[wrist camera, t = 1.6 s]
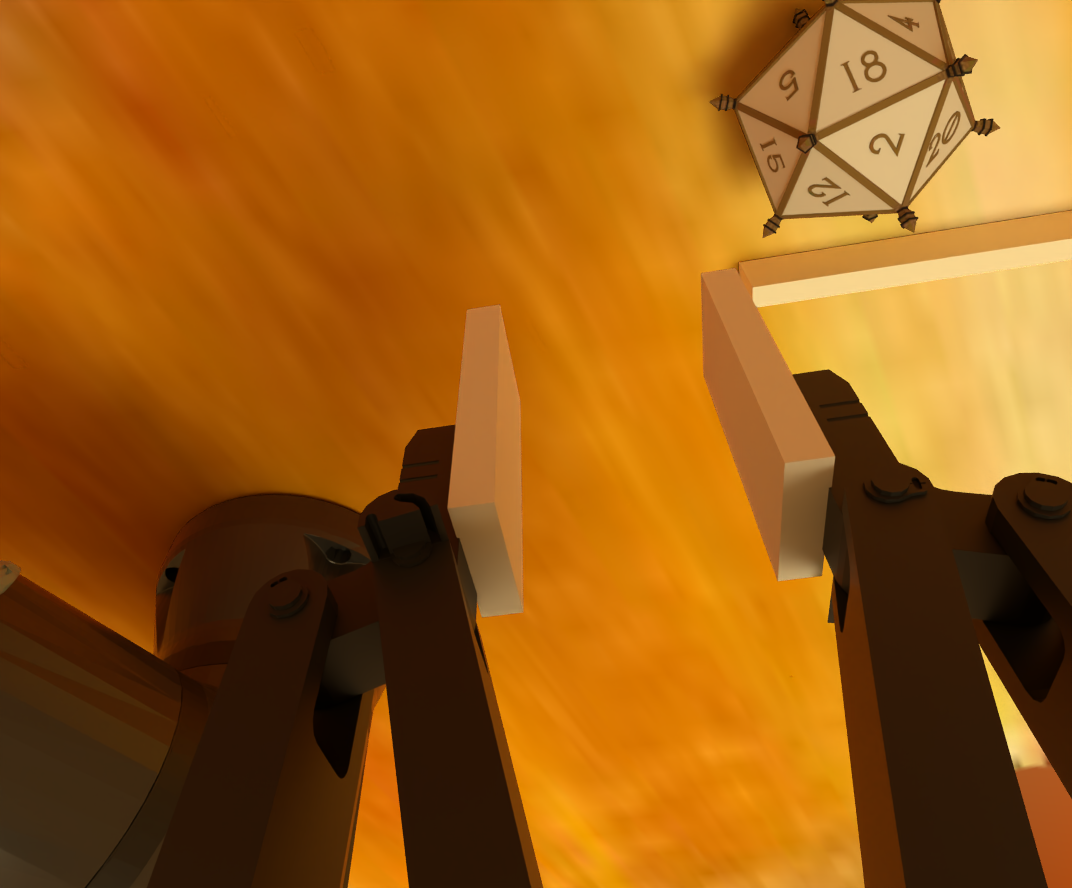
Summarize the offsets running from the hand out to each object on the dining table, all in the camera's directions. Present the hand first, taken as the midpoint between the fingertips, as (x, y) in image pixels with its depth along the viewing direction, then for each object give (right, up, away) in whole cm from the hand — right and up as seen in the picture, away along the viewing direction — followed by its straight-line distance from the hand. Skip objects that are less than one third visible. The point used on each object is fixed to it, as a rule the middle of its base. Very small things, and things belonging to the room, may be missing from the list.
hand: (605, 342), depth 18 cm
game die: (+9, +12, +13) cm, 20 cm away
